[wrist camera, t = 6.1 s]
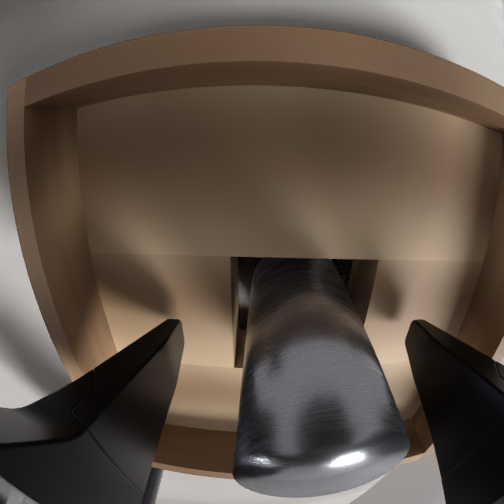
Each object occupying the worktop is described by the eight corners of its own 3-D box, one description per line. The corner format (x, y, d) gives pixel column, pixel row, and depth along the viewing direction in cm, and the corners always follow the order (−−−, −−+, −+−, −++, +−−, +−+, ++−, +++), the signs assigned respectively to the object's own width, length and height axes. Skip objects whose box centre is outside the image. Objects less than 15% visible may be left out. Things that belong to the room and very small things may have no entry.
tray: (405, 394, 14) (429, 456, 10) (147, 393, 15) (122, 459, 10) (477, 117, 8) (560, 124, 4) (97, 96, 9) (8, 87, 4)
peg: (331, 320, 12) (375, 487, 5) (251, 319, 12) (235, 497, 5) (343, 245, 11) (439, 412, 3) (251, 242, 11) (227, 432, 4)
